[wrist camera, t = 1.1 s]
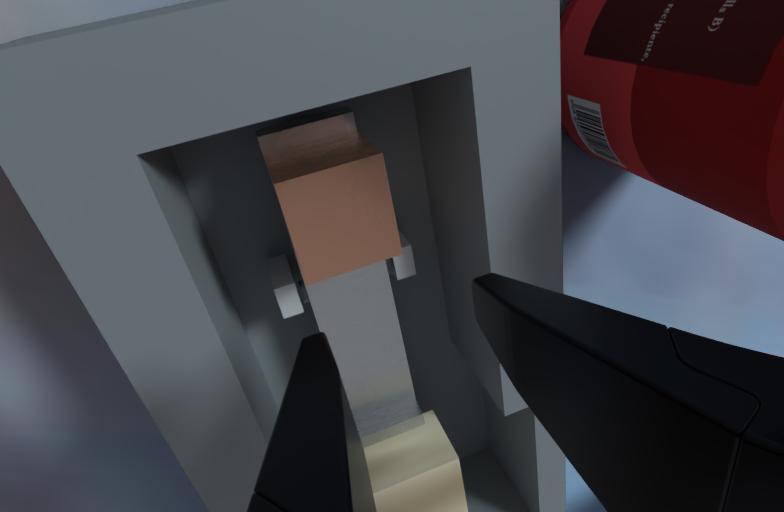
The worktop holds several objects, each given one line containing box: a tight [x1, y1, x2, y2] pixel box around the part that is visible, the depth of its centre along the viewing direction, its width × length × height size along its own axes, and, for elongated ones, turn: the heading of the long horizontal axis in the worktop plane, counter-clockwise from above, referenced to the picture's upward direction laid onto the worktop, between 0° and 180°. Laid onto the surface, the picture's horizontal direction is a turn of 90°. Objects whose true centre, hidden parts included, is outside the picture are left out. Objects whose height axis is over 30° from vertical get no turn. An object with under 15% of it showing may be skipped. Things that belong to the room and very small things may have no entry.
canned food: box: [560, 0, 784, 241], centre depth 15 cm, size 8×8×11 cm
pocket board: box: [0, 0, 566, 512], centre depth 19 cm, size 24×13×5 cm, turn 11°
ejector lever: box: [255, 106, 425, 449], centre depth 19 cm, size 18×3×3 cm, turn 11°
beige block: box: [364, 410, 468, 512], centre depth 21 cm, size 5×4×3 cm
